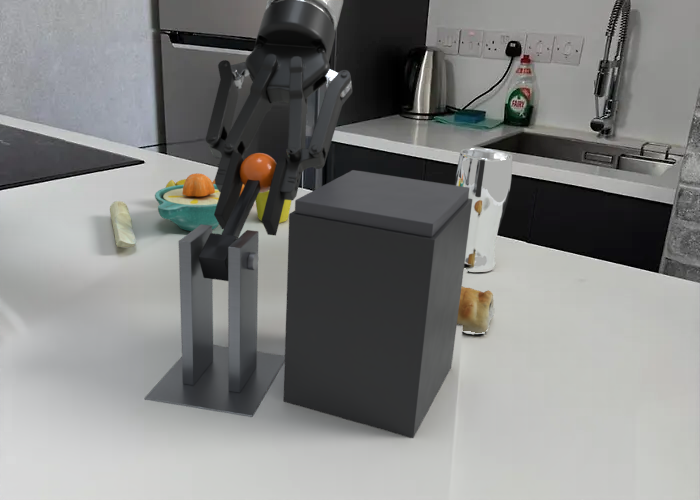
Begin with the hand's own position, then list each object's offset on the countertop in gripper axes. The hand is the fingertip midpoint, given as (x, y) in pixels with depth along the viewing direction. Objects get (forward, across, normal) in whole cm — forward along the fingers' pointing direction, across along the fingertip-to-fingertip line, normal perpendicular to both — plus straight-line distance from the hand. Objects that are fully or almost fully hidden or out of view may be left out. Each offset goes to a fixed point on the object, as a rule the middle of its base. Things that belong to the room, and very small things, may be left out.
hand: (245, 224), depth 60 cm
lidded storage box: (+12, -13, -7) cm, 18 cm away
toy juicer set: (-16, +21, -34) cm, 44 cm away
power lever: (0, 0, 0) cm, 0 cm away
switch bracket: (+13, 0, -5) cm, 14 cm away
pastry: (0, -19, -19) cm, 27 cm away
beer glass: (-13, -21, -32) cm, 40 cm away
